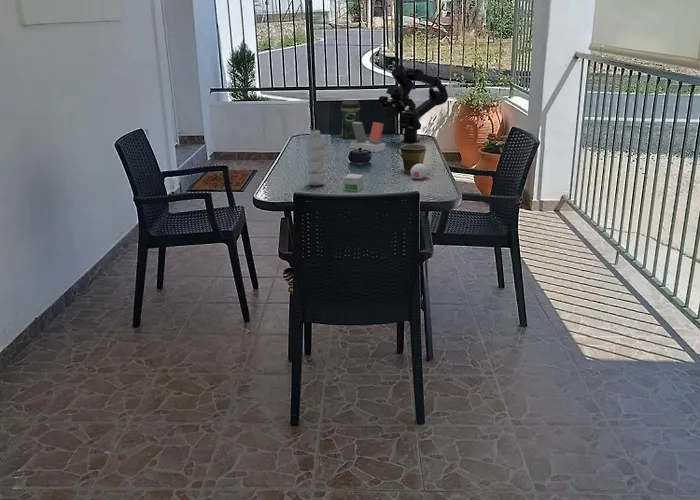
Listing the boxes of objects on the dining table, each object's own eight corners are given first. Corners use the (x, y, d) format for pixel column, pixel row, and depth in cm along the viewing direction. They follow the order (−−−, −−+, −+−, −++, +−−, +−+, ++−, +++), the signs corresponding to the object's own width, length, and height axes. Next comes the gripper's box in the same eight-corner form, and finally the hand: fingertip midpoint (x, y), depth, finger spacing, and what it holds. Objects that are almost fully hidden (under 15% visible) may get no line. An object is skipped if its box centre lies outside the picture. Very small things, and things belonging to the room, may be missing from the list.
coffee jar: (361, 136, 330) (360, 99, 323) (360, 139, 322) (359, 101, 316) (342, 136, 331) (341, 99, 324) (340, 139, 323) (340, 101, 317)
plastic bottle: (307, 183, 240) (305, 129, 233) (325, 182, 240) (323, 128, 233) (307, 187, 234) (305, 132, 227) (326, 187, 234) (324, 131, 227)
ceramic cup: (430, 171, 255) (431, 146, 251) (415, 176, 248) (415, 150, 245) (404, 167, 263) (405, 142, 260) (389, 171, 256) (389, 146, 253)
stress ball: (420, 184, 249) (412, 169, 250) (435, 175, 244) (427, 159, 244) (408, 187, 244) (401, 171, 244) (423, 178, 238) (415, 162, 239)
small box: (343, 190, 230) (343, 176, 228) (349, 186, 235) (349, 173, 233) (358, 191, 228) (358, 178, 226) (364, 187, 233) (364, 174, 231)
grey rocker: (358, 139, 302) (354, 121, 297) (366, 140, 299) (362, 122, 294) (356, 141, 301) (351, 123, 296) (364, 142, 298) (359, 124, 293)
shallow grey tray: (360, 146, 305) (360, 139, 304) (385, 150, 296) (385, 143, 295) (350, 148, 301) (350, 141, 300) (375, 152, 291) (375, 145, 290)
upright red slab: (371, 142, 297) (375, 122, 296) (379, 144, 293) (383, 123, 293) (368, 142, 295) (373, 122, 294) (376, 143, 292) (381, 123, 291)
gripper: (380, 78, 302) (365, 104, 298) (412, 80, 290) (396, 108, 286) (391, 93, 310) (376, 120, 306) (422, 96, 298) (407, 123, 294)
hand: (388, 117), depth 298 cm, fingers closed
